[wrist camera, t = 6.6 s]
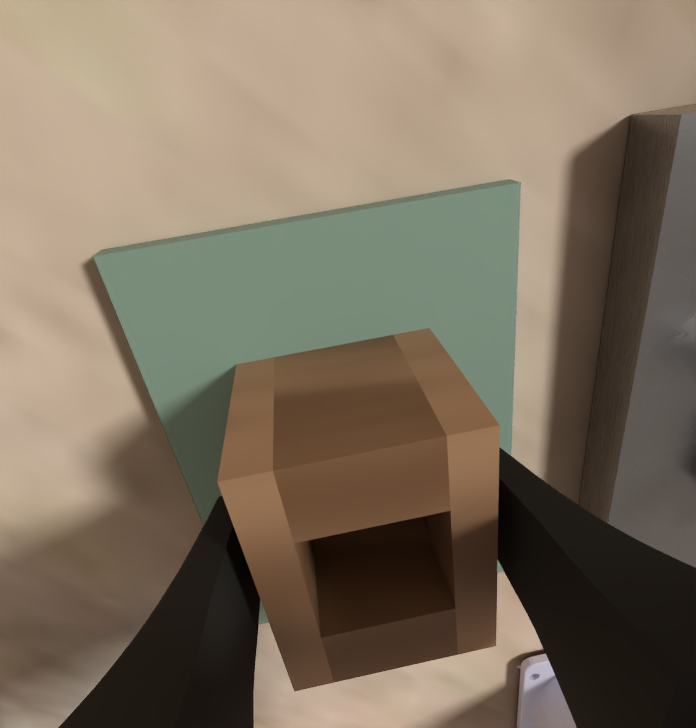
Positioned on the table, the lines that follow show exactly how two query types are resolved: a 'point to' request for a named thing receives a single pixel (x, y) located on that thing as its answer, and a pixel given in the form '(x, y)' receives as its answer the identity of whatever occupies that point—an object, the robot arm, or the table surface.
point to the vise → (650, 346)
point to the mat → (317, 303)
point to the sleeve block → (365, 504)
